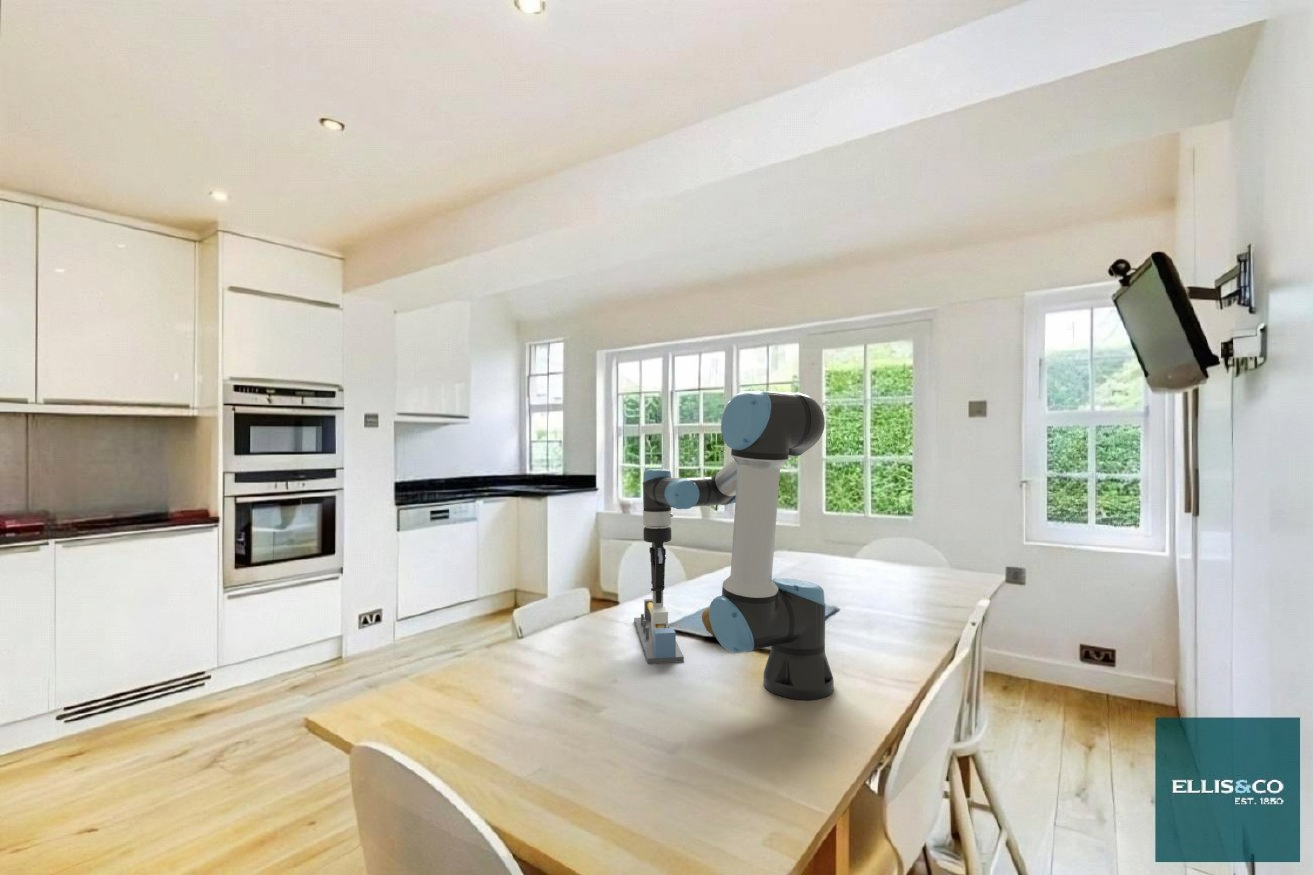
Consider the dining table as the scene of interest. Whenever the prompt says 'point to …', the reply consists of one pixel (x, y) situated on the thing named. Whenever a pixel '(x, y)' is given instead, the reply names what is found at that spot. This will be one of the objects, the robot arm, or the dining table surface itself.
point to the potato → (707, 621)
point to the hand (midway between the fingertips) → (657, 613)
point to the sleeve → (659, 617)
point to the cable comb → (657, 639)
